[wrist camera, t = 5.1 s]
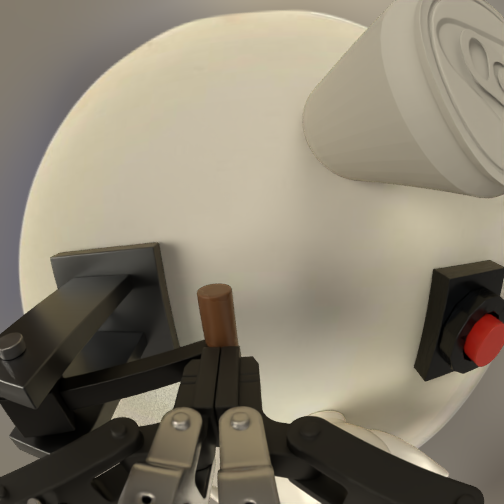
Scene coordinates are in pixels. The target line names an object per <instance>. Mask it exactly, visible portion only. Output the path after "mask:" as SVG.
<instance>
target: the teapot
mask: <svg viewBox="0 0 504 504" xmlns="http://www.w3.org/2000/svg"><path fill="white" fill-rule="evenodd" d="M309 416H317V417H321V418H323V419H325V420H327V421H328V422H330V423H332V424H334V425H336V426H337V427H339V428H341V429H343V430H345V431H346V432H348V433H350V434H352V435H354V436H356V437H358V438H360V439H362V440H364V441H366V442H368V443H369V444H371V445H373V446H376V447H378V448H380V449H382V450H384V451H386V452H388V453H390V454H392V455H394V456H397V457H399V458H401V459H403V460H406V461H408V462H410V463H412V464H415V465H417V466H420V467H422V468H424V469H427V470H429V471H432V472H434V473H437V474H440V475H442V476H445V477H448V475H449V473H448V471H446V470H445V469H444V468H443V467H441V466H440V465H439V464H437V463H436V462H435V461H433V460H432V459H431V458H429V457H428V456H427V455H426V454H424V453H423V452H422V451H420V450H419V449H417V448H416V447H414V446H412V445H411V444H409V443H407V442H406V441H404V440H402V439H400V438H398V437H396V436H393V435H391V434H388V433H386V432H383V431H379V430H372V429H370V430H367V429H365V428H363V427H360V426H357V425H354V424H349V423H346V420H345V417H344V416H343V415H342V414H341V413H339V412H336V411H322V412H317V413H314V414H311V415H309ZM275 480H276V485H277V490H278V495H279V500H280V504H321V503H320V502H318V501H317V500H315V499H314V498H312V497H311V496H309V495H308V494H306V493H305V492H304V491H302V490H301V489H299V488H298V487H296V486H295V485H294V484H292V483H291V482H290V481H289V480H288V478H283V477H276V476H275ZM210 496H211V497H212V498H213V499H214V500H215V501H216V502H217V503H218V488H217V487H215V486H212V488H211V494H210Z"/></svg>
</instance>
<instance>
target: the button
mask: <svg viewBox="0 0 504 504" xmlns="http://www.w3.org/2000/svg"><path fill="white" fill-rule="evenodd" d="M503 345H504V323H503V322H501V321H500V320H499V319H497V318H496V317H495V316H493V315H492V314H485V315H484V316H483V317H482V318H481V319H480V320H479V321H478V322H477V323H476V324H475V325H474V326H473V328H472V330H471V331H470V333H469V334H468V336H467V338H466V342H465V345H464V352H465V354H466V355H467V356H468V357H469V358H470V359H471V360H472V361H473V362H474V363H475V364H476V365H477V366H479V367H482V366H485V365H487V364H488V363H490V362H491V361H492V360H493V359H494V358H495V357H496V356H497V354H498V353H499V352H500V350H501V348H502V347H503Z"/></svg>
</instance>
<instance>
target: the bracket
mask: <svg viewBox="0 0 504 504" xmlns="http://www.w3.org/2000/svg"><path fill="white" fill-rule="evenodd" d="M50 260H51V264H52V269H53V273H54V277H55V280H56V284H57V288H58V290H56V291H55V292H53V293H52V294H51V295H49V296H48V297H47V298H45V299H44V300H43V301H41V302H40V303H39V304H37V305H36V306H35V307H34V308H32V309H31V310H30V311H28V312H27V313H26V314H25V315H23V316H22V317H21V318H20V319H18V320H17V321H16V322H15V323H14V324H12V325H11V326H10V327H8V328H7V329H6V330H5V331H4V332H2V333H1V334H0V397H2V398H5V399H8V400H10V401H13V402H16V403H18V404H21V405H24V406H27V407H30V408H33V409H37V408H38V407H39V405H40V404H41V403H42V401H43V400H44V398H45V397H46V396H47V394H48V393H49V392H50V390H51V389H52V388H53V386H54V385H55V384H56V382H57V381H58V380H59V378H60V377H61V376H63V378H66V377H70V376H75V375H79V374H84V373H88V372H92V371H96V370H101V369H105V368H109V367H112V366H116V365H120V364H124V363H128V362H131V361H135V360H139V359H142V358H146V357H149V356H153V355H156V354H160V353H163V352H167V351H170V350H173V349H176V348H180V347H179V343H178V339H177V335H176V330H175V326H174V321H173V317H172V312H171V307H170V303H169V298H168V293H167V287H166V282H165V277H164V271H163V265H162V260H161V253H160V247H159V243H158V242H156V243H145V244H136V245H126V246H116V247H107V248H98V249H89V250H80V251H71V252H63V253H58V254H56V255H54V256H52V257H50ZM119 401H120V399H119V400H115V401H111V402H107V403H103V404H99V405H94V406H90V407H86V408H81V409H76V410H74V420H75V430H74V431H69V432H64V433H58V434H51V435H45V436H37V437H29V438H24V437H23V435H22V434H21V433H20V431H19V430H18V429H17V427H16V426H15V428H14V429H13V431H12V432H11V434H10V435H9V437H10V438H11V440H13V442H14V443H15V445H16V446H17V447H18V448H19V449H20V450H22V451H24V452H27V453H29V454H31V455H33V456H36V457H38V458H42V457H44V456H46V455H48V454H50V453H52V452H54V451H56V450H58V449H60V448H62V447H64V446H66V445H67V444H69V443H71V442H73V441H75V440H77V439H79V438H80V437H82V436H84V435H86V434H88V433H89V432H91V431H93V430H95V429H96V428H98V427H100V426H102V425H103V424H105V423H107V422H108V421H110V420H111V418H112V416H113V414H114V412H115V410H116V407H117V405H118V403H119Z"/></svg>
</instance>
